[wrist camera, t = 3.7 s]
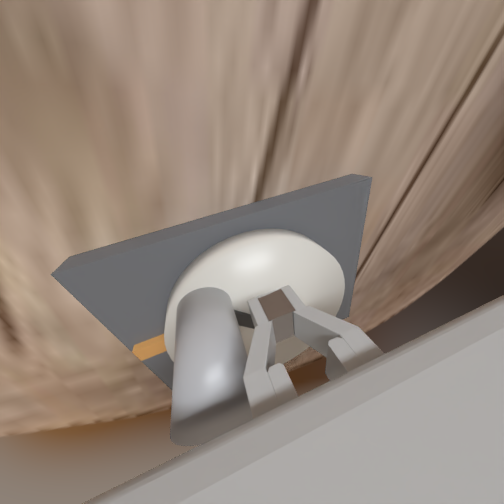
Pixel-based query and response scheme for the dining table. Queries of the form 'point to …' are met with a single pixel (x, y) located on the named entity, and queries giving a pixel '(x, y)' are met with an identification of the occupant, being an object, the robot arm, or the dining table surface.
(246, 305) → the dial
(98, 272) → the dial board
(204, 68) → the dining table surface
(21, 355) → the dining table surface
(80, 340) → the dining table surface
